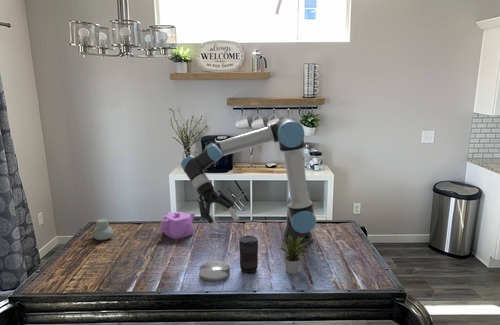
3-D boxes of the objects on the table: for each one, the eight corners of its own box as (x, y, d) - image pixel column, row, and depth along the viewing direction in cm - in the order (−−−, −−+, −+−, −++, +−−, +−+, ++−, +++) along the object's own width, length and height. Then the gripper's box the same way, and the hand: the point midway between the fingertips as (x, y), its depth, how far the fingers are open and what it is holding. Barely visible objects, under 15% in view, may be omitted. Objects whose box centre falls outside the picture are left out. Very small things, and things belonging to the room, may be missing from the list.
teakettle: (166, 227, 214) (165, 207, 212) (196, 228, 214) (195, 207, 211) (158, 240, 198) (157, 217, 195) (190, 240, 197) (189, 218, 194)
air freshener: (115, 239, 199) (114, 221, 197) (99, 243, 193) (98, 225, 191) (107, 233, 207) (105, 215, 204) (91, 237, 201) (90, 219, 199)
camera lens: (236, 268, 168) (236, 236, 165) (253, 265, 170) (254, 234, 167) (243, 276, 160) (243, 243, 157) (260, 273, 163) (260, 241, 160)
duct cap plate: (232, 268, 168) (232, 261, 167) (226, 283, 155) (226, 276, 154) (203, 266, 169) (203, 260, 169) (196, 281, 157) (195, 274, 156)
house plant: (301, 284, 155) (302, 247, 151) (270, 275, 161) (271, 240, 158) (313, 269, 167) (314, 234, 163) (284, 262, 173) (285, 228, 170)
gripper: (217, 184, 186) (240, 220, 181) (178, 196, 167) (203, 236, 161) (225, 176, 182) (249, 212, 176) (186, 186, 163) (212, 227, 157)
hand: (227, 224), depth 169 cm, fingers open, 13 cm apart
